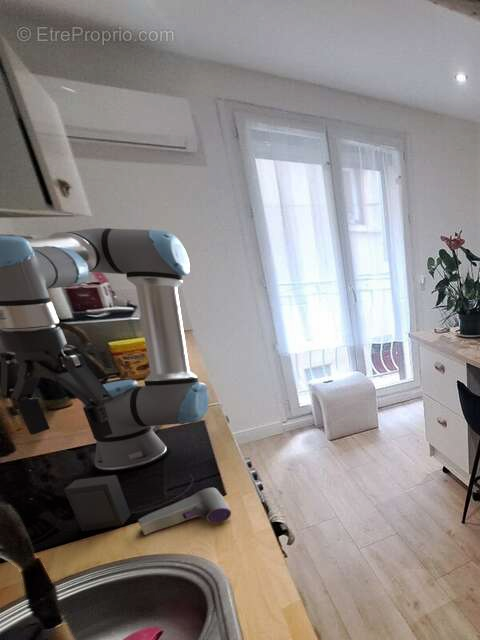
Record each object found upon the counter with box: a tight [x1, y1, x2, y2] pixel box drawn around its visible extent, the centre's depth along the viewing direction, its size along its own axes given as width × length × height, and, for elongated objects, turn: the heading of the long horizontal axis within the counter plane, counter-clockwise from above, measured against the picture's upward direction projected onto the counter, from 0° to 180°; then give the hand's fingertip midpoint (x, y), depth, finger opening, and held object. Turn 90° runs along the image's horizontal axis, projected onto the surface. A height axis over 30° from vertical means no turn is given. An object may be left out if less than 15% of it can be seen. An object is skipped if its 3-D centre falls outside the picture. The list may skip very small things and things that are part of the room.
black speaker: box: [63, 474, 132, 533], centre depth 91 cm, size 4×7×11 cm, turn 112°
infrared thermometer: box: [137, 487, 232, 536], centre depth 94 cm, size 5×12×15 cm
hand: (71, 434), depth 81 cm, fingers open, 13 cm apart
